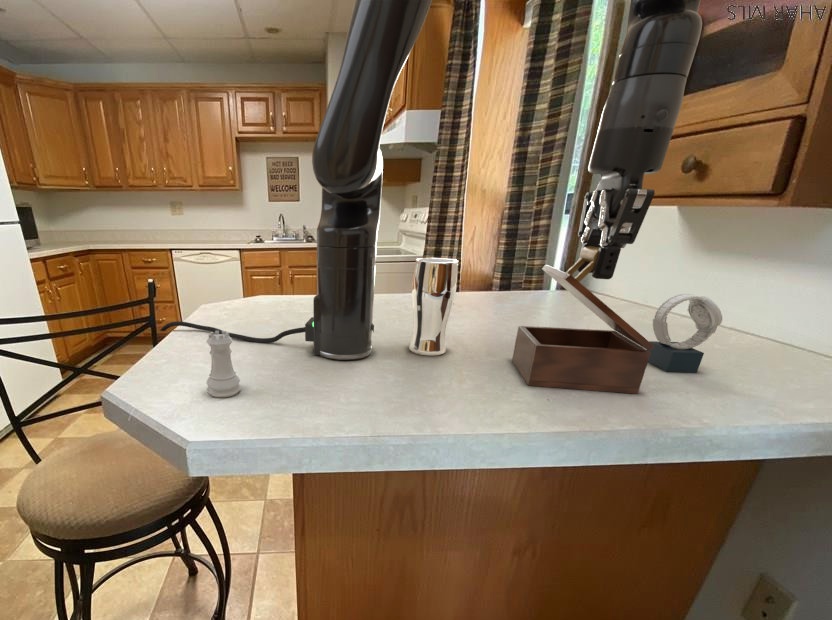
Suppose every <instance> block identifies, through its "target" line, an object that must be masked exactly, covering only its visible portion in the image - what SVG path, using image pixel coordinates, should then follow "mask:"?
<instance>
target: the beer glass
mask: <svg viewBox="0 0 832 620" xmlns="http://www.w3.org/2000/svg"><path fill="white" fill-rule="evenodd" d="M458 272H459V260H457V259H453V258H443V257H421V258H416V259H415V264H414V270H413V277H412V285H411V306H412V317H413V318H412V319H413V330H412V336H411V339H410V343H409V347H408V348H409V351H411V353H414V354H417V355H422V356H428V357H429V356H431V357H432V356H433V357H434V356H441V355H444V354H445V353H446V350H447V349H446V330H447V325H448V322H449V319H450V315H451V312H452V309H453V305H454V302H455V298H456V292H457V285H458Z"/></svg>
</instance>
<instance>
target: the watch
mask: <svg viewBox="0 0 832 620" xmlns="http://www.w3.org/2000/svg"><path fill="white" fill-rule="evenodd" d="M687 301H689V303H688V305H687V312H688V314H689V316H690V319H691V320H692V321H693V322H694V325H695V330H696V332H695V333H694V334H693V335H692V336H691V337H688V338H687V339H686V340H683V341H680V342H679V341H672V339H671V336H670V333H669V328H668V327H669V326H668V325H669V324H668V322H667V320H668V315H669V313H670V312H671V311H672V310H673V309H675V307H677V306H678V305H680V304H682V303H684V302H687ZM722 322H723V313H722V311H721V309H720V308H719V306H718V304H717V303H716V302H715V301H713V299H711V298H709V297H707V296H698V295H695V294H690V293H681V294H677V295H674V296H672V297H670V298H668V299H667V300H665V301H664V302H662V304H661V305H660V306H659V307H658V308H657V310H656V311H655V315H654V318H653V319H652V329H653V333H654V335H655V338H656V340H657V341H653V340H648V341H649V342H650V343H651V344H652V345H654V346H655V347H654V348H653V349H651V350H650V351H649V352H651V354H650V357H649V360H648V363H649V364H651V365H653V366H655V367H656V368H658V369H661V370H663V371H664V372H666V373H667V372H668V373H690V374H691V373H692V374H694V373H695V374H696V373H698V371H699V368H700V365H701V363H702V361H703V358H704V354H705V352H703V351H700V350H698V349H696V347H698V346H701V345H702V344H703V343H705V342H706V341H707V340H709V338H710V337H711V336H712V335H713V334H716V331H717V329H718V326H720V325H721V324H722Z"/></svg>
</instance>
